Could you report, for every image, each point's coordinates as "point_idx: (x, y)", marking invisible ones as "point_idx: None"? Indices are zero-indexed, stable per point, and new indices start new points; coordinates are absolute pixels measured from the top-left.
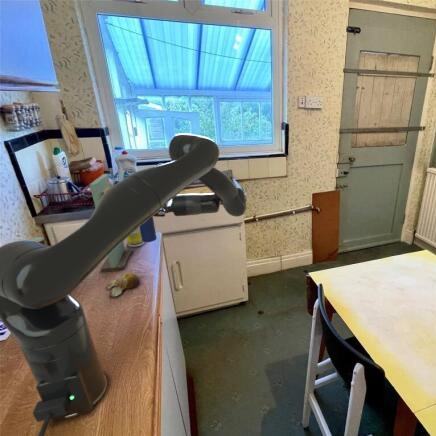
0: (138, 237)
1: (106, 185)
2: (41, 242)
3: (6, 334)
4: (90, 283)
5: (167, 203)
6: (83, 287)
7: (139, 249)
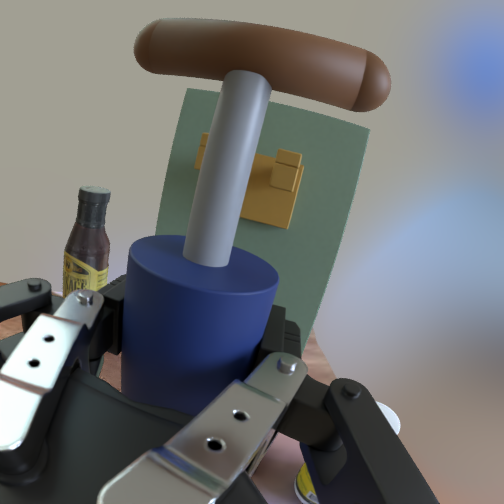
0: (311, 481)
1: (306, 156)
2: (80, 192)
3: (60, 292)
4: (113, 374)
5: (16, 496)
6: (106, 363)
7: (267, 498)
